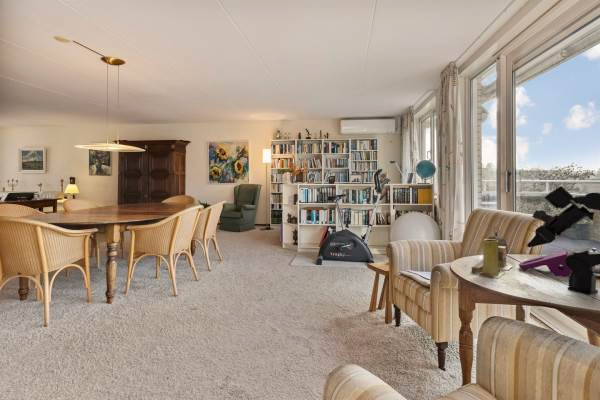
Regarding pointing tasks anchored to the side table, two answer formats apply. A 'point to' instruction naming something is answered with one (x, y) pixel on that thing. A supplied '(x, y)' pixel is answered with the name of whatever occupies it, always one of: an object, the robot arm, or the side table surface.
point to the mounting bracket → (550, 263)
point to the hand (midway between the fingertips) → (530, 244)
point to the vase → (490, 257)
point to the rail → (501, 265)
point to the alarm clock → (499, 239)
